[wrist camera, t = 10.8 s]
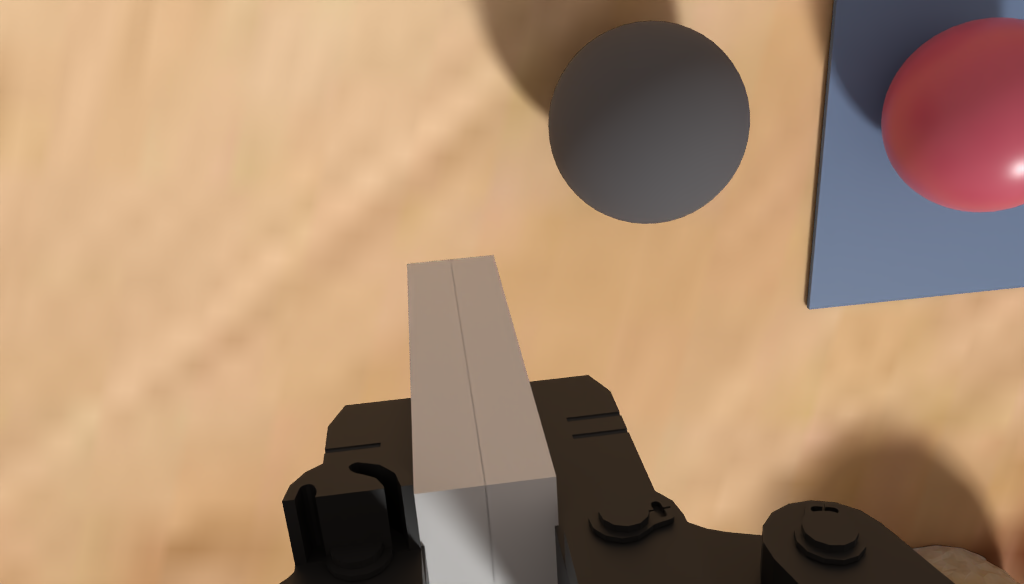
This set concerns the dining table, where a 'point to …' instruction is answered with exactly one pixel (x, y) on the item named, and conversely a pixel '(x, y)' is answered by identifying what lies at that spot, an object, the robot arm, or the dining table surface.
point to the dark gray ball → (649, 122)
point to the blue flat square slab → (895, 174)
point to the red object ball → (961, 117)
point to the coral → (964, 566)
